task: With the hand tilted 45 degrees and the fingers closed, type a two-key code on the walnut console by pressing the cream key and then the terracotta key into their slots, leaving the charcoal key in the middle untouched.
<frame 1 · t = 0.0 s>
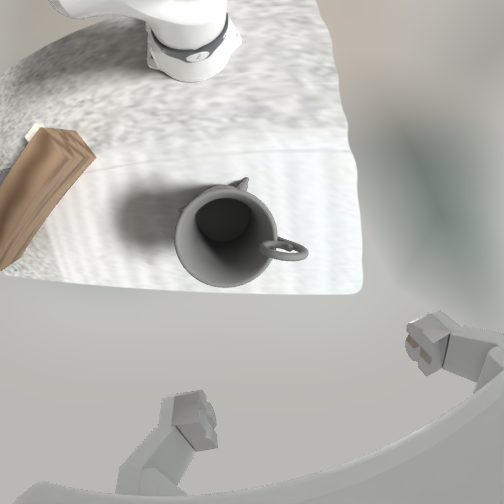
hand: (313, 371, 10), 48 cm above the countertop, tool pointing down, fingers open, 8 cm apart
grey footed pot: (227, 213, 56), on the countertop
charcoal key: (9, 184, 40), point 7 cm above the countertop, slide at 0.0 cm
console: (41, 199, 49), on the countertop
cream key: (40, 139, 39), point 7 cm above the countertop, slide at 0.0 cm
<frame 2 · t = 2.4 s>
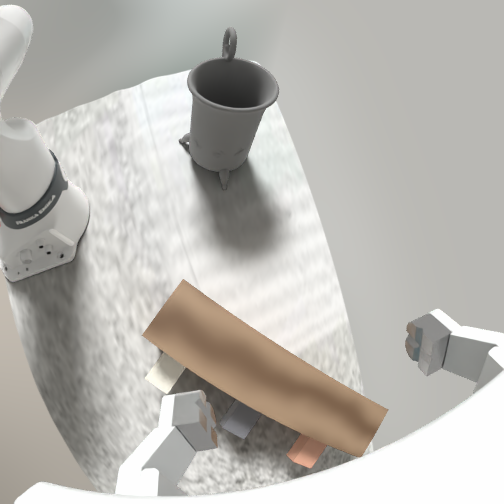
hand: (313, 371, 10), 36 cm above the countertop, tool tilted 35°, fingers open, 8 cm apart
terracotta key: (308, 447, 35), point 7 cm above the countertop, slide at 0.0 cm
grey footed pot: (216, 151, 55), on the countertop
charcoal key: (242, 415, 35), point 7 cm above the countertop, slide at 0.0 cm
console: (254, 374, 43), on the countertop
cream key: (167, 369, 35), point 7 cm above the countertop, slide at 0.0 cm
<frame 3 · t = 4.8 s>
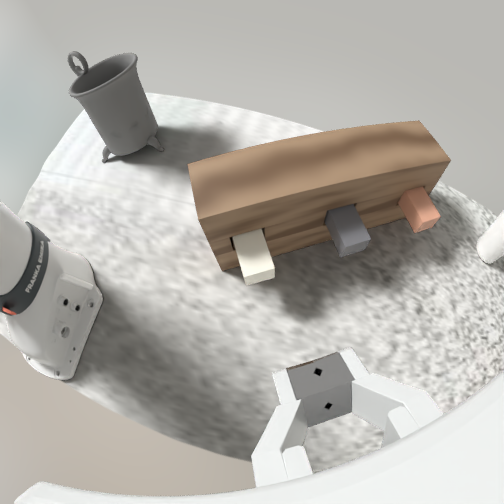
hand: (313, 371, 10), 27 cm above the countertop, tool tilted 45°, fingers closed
terracotta key: (418, 208, 35), point 7 cm above the countertop, slide at 0.0 cm
grey footed pot: (134, 142, 55), on the countertop
charcoal key: (346, 229, 34), point 7 cm above the countertop, slide at 0.0 cm
drinking glass: (484, 251, 38), on the countertop
console: (320, 217, 43), on the countertop
cream key: (253, 256, 34), point 7 cm above the countertop, slide at 0.0 cm
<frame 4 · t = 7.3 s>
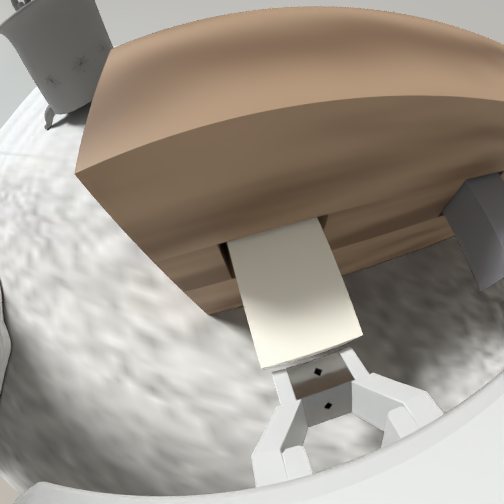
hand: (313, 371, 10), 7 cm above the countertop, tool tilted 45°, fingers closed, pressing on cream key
grey footed pot: (89, 99, 32), on the countertop
charcoal key: (491, 227, 11), point 7 cm above the countertop, slide at 0.0 cm
console: (403, 203, 20), on the countertop
cream key: (287, 288, 11), point 7 cm above the countertop, slide at 0.5 cm, touching gripper
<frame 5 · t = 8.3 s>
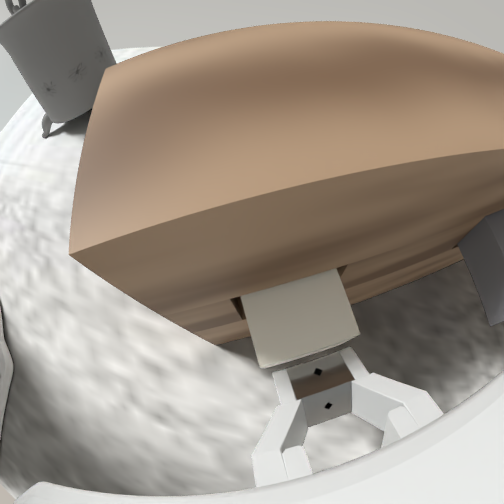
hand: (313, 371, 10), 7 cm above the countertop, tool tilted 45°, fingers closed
grey footed pot: (88, 106, 32), on the countertop
console: (414, 225, 20), on the countertop
cream key: (286, 288, 11), point 7 cm above the countertop, slide at 2.6 cm
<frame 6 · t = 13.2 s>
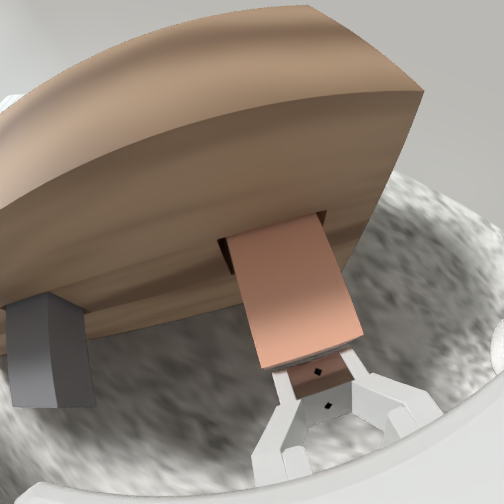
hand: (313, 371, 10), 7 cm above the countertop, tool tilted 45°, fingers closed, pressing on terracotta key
terracotta key: (287, 288, 11), point 7 cm above the countertop, slide at 0.4 cm, touching gripper
charcoal key: (46, 353, 11), point 7 cm above the countertop, slide at 0.0 cm
console: (105, 284, 19), on the countertop
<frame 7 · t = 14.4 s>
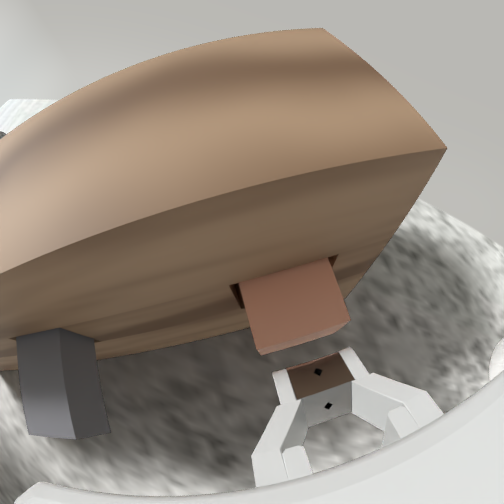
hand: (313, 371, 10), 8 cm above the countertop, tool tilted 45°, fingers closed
terracotta key: (282, 278, 12), point 7 cm above the countertop, slide at 2.6 cm
charcoal key: (59, 383, 11), point 7 cm above the countertop, slide at 0.0 cm
console: (111, 305, 20), on the countertop
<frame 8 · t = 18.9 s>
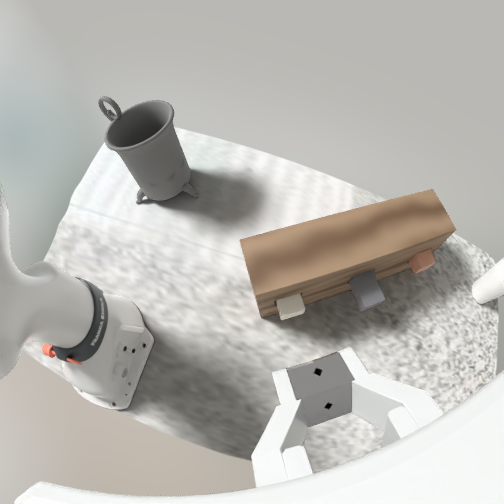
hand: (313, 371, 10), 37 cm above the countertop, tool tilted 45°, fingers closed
terracotta key: (418, 253, 43), point 7 cm above the countertop, slide at 2.6 cm
grey footed pot: (166, 184, 62), on the countertop
charcoal key: (366, 289, 41), point 7 cm above the countertop, slide at 0.0 cm
drinking glass: (478, 292, 45), on the countertop
console: (342, 269, 50), on the countertop
cream key: (287, 297, 42), point 7 cm above the countertop, slide at 2.6 cm
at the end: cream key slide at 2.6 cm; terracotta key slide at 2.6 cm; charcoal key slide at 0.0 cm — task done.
